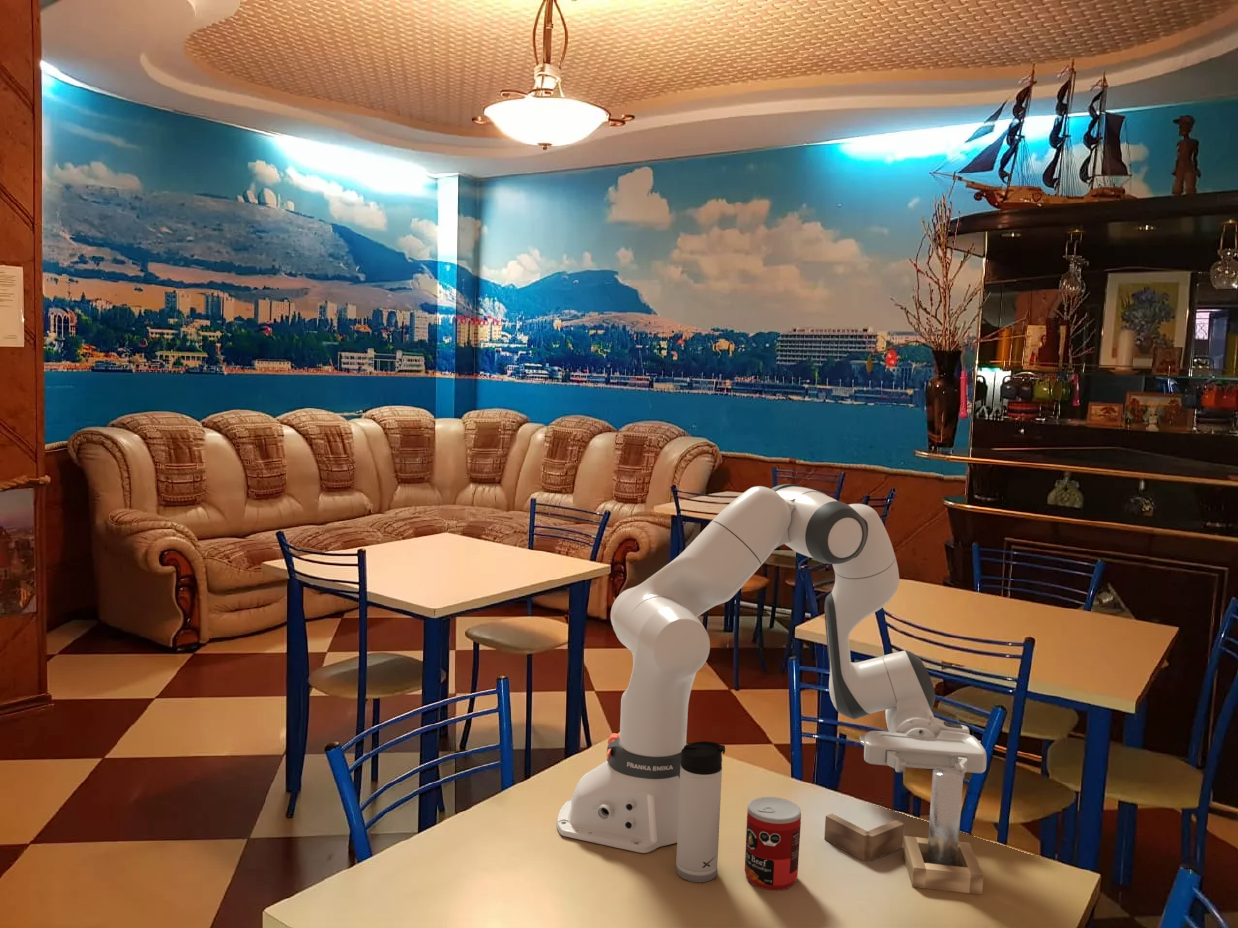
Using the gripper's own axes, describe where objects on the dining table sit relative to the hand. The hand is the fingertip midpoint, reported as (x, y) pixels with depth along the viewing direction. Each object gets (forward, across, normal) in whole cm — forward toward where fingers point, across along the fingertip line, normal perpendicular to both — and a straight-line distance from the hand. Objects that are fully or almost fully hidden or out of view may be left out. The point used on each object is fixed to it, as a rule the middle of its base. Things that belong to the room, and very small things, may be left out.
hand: (930, 770), depth 156 cm
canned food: (+19, -26, +11) cm, 34 cm away
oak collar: (+12, 0, +11) cm, 17 cm away
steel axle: (+12, 0, +11) cm, 17 cm away
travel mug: (+20, -37, +11) cm, 43 cm away
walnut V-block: (+7, -11, +11) cm, 17 cm away
